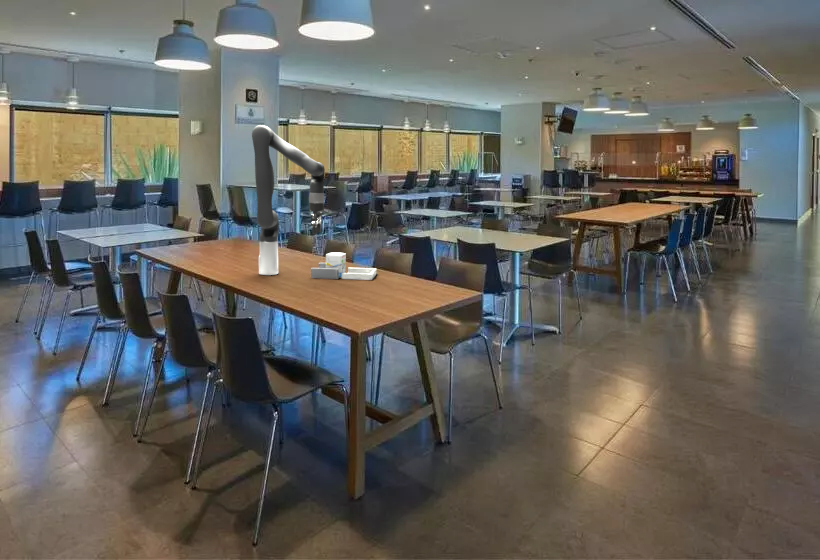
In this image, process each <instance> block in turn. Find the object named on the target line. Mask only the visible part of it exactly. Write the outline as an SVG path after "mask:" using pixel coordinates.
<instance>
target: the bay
mask: <svg viewBox="0 0 820 560" xmlns="http://www.w3.org/2000/svg"><path fill="white" fill-rule="evenodd" d="M310 278H311V279H325V280H327V279H328V280H329V279H330V280H338V279H339V278H340V277H339V269H330V268H326V262H318V267H311V268H310Z"/></svg>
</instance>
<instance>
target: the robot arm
mask: <svg viewBox="0 0 820 560" xmlns="http://www.w3.org/2000/svg"><path fill="white" fill-rule="evenodd" d="M251 139H252V145H253V150H254V151H253V152H254V174H255V175H254V176H255V177H254V179H255V186H256V189H255V190H256V201H257V205H256V206H257V210H256V223H257V224H258V226H259V227H260V234H259V237H258V238H259V243H258V244H259V255H258V275H262V276H263V275H264V276H271V275H272V276H274V275H277V274H279V242H278V238H279V230H280V229H279V228H280V227H279V223H280V222H279V215H278V213H277V212H276V211H275V210H273V201H272V199H273V194H274V189H275V172H274V171H275V170H274V167H273V163H272V160H271V156H270V148H272V149H274V150H275V151H277V152H278V153H280V154H281V155H282V156H283V157H285V158H286V159H287V160H289V161H291V162H292V163H294V165H296V166H299V168H302V169H303V170H304V171H306V172H307V173H308V174H310V177H311V179H310V182H309V197H308V201H309V202H308V205H309V207H308V210H309V212H312V213H311V214H310V227H311V228H312V230H311V233H312V235H314V236H315V235H317V234H318V233H321V231H322V224H323V212H324V211H325V196H324V195H325V193H324V191H325V187H324V182H325V181H324V179H325V165H324V164H323V163H322V162H319V161H316V160H314V159H313V158H311V157H309V155H308V154H307V153H305V152H304V151H302V150H300V149H298V148H297V147H296V146H294V145H292V144H290V143H288V142H287V141H285V140H284V139H282V137H280V136H279V135H278V134H276V133H275V132H274V131H273V129H272V128H270V127H268V126H267V125H263V124H262V125H261V124H259V125H256V126H254V127H253V129H252V132H251Z"/></svg>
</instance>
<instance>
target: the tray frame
mask: <svg viewBox="0 0 820 560" xmlns="http://www.w3.org/2000/svg"><path fill="white" fill-rule="evenodd" d="M376 275H377V268H371V267H370V268H368V267H366V268H365V267H347V272H346V273H342V277H341V280H358V281H359V280H361V281H372V280H373V279H374V278H375V277H376Z"/></svg>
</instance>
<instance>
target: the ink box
mask: <svg viewBox="0 0 820 560" xmlns="http://www.w3.org/2000/svg"><path fill="white" fill-rule="evenodd" d="M346 254H347V253H344V252H329V253H326V254H325V263H326V268H330V269H339V278H342V273H347V272H346V271H347V267H346V265H347V264H346V263H347V262H346V261H347V258H346V257H347V255H346Z"/></svg>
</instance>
